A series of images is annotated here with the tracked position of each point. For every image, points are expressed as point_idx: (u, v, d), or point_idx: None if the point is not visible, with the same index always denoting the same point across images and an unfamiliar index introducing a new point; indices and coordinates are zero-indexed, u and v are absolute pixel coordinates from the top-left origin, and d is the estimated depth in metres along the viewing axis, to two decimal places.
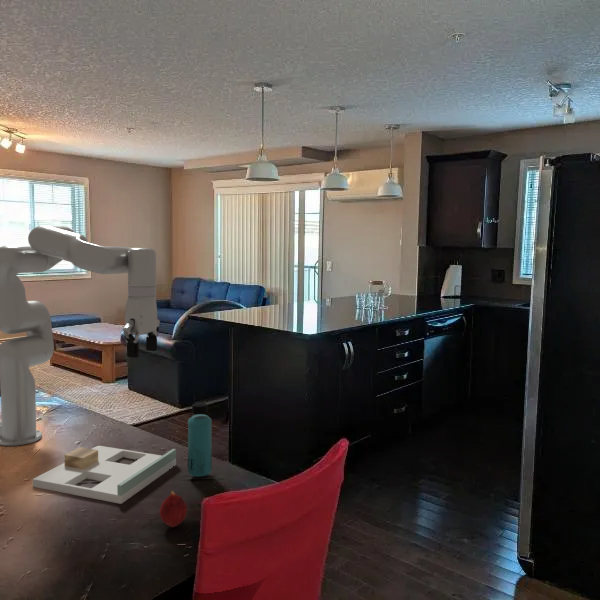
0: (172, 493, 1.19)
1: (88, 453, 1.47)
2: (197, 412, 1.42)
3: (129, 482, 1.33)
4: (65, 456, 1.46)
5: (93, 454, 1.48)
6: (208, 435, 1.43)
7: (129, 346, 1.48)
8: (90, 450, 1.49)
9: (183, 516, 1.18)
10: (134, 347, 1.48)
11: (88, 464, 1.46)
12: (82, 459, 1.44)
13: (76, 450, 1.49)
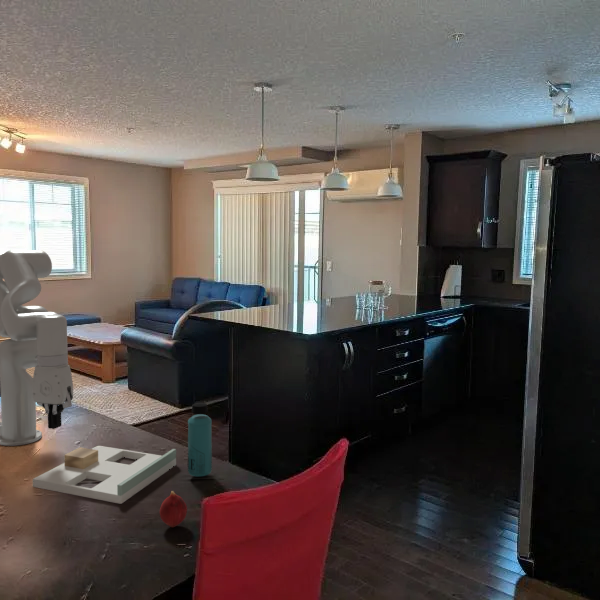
0: (172, 493, 1.19)
1: (88, 453, 1.47)
2: (197, 412, 1.42)
3: (129, 482, 1.33)
4: (65, 456, 1.46)
5: (93, 454, 1.48)
6: (208, 435, 1.43)
7: (58, 416, 1.48)
8: (90, 450, 1.49)
9: (183, 516, 1.18)
10: None
11: (88, 464, 1.46)
12: (82, 459, 1.44)
13: (76, 450, 1.49)
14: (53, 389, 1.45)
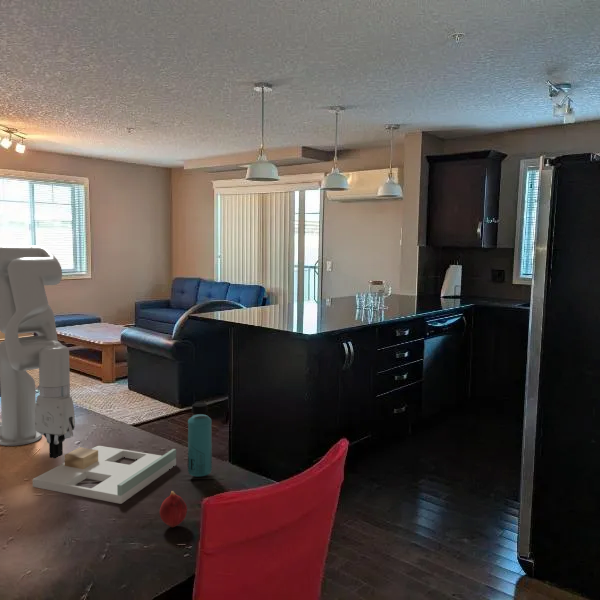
0: (172, 493, 1.19)
1: (88, 453, 1.47)
2: (197, 412, 1.42)
3: (129, 482, 1.33)
4: (65, 456, 1.46)
5: (93, 454, 1.48)
6: (208, 435, 1.43)
7: (59, 446, 1.49)
8: (90, 450, 1.49)
9: (183, 516, 1.18)
10: None
11: (88, 464, 1.46)
12: (82, 459, 1.44)
13: (76, 450, 1.49)
14: (55, 420, 1.46)
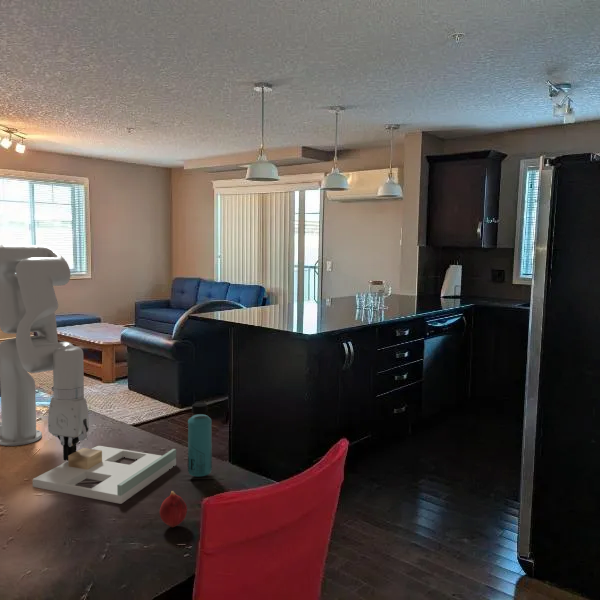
0: (172, 493, 1.19)
1: (92, 453, 1.47)
2: (197, 412, 1.42)
3: (129, 482, 1.33)
4: (69, 457, 1.45)
5: (96, 454, 1.47)
6: (208, 435, 1.43)
7: (73, 448, 1.48)
8: (94, 450, 1.49)
9: (183, 516, 1.18)
10: None
11: (92, 464, 1.46)
12: (86, 459, 1.44)
13: (80, 450, 1.49)
14: (69, 422, 1.45)
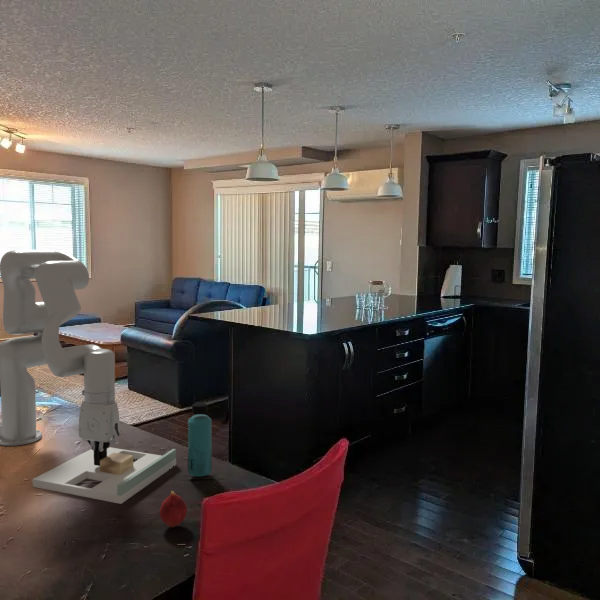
0: (172, 493, 1.19)
1: (124, 458, 1.44)
2: (197, 412, 1.42)
3: (129, 482, 1.33)
4: (101, 462, 1.43)
5: (128, 459, 1.45)
6: (208, 435, 1.43)
7: (104, 453, 1.45)
8: (125, 455, 1.46)
9: (183, 516, 1.18)
10: None
11: (124, 470, 1.43)
12: (119, 465, 1.41)
13: (111, 455, 1.46)
14: (100, 426, 1.42)
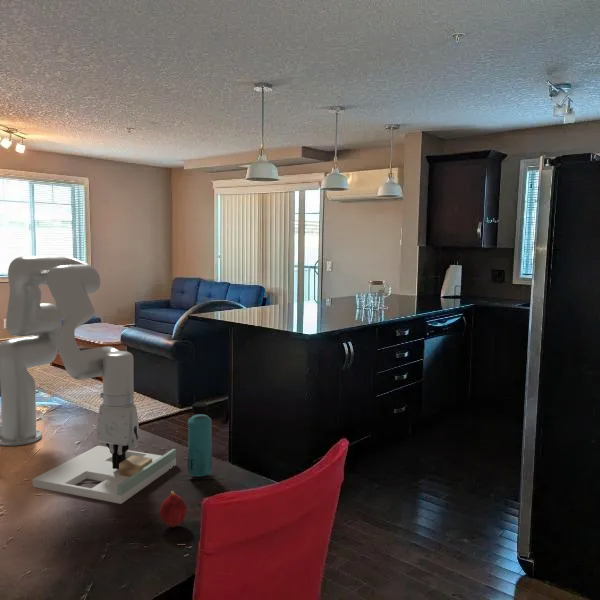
0: (172, 493, 1.19)
1: (143, 461, 1.43)
2: (197, 412, 1.42)
3: (129, 482, 1.33)
4: (120, 465, 1.41)
5: (147, 462, 1.43)
6: (208, 435, 1.43)
7: (122, 457, 1.43)
8: (144, 458, 1.45)
9: (183, 516, 1.18)
10: None
11: None
12: (138, 468, 1.39)
13: (130, 458, 1.44)
14: (120, 430, 1.40)
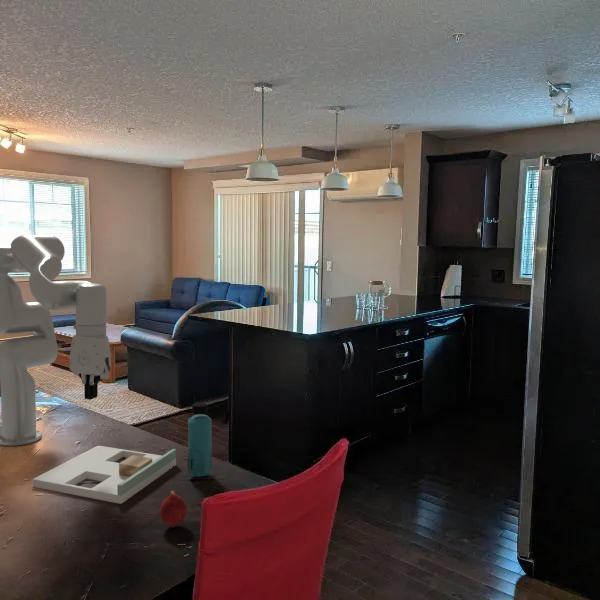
0: (172, 493, 1.19)
1: (143, 461, 1.43)
2: (197, 412, 1.42)
3: (129, 482, 1.33)
4: (120, 465, 1.41)
5: (147, 462, 1.43)
6: (208, 435, 1.43)
7: (94, 387, 1.46)
8: (144, 458, 1.45)
9: (183, 516, 1.18)
10: None
11: None
12: (138, 468, 1.39)
13: (130, 458, 1.44)
14: (91, 359, 1.42)
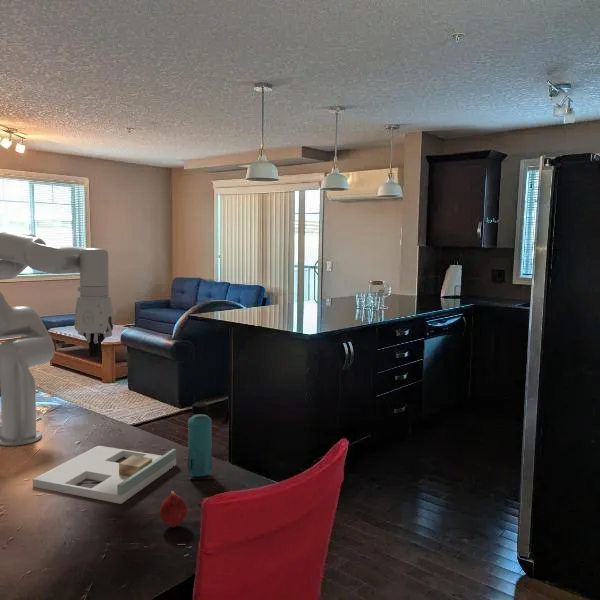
0: (172, 493, 1.19)
1: (143, 461, 1.43)
2: (197, 412, 1.42)
3: (129, 482, 1.33)
4: (120, 465, 1.41)
5: (147, 462, 1.43)
6: (208, 435, 1.43)
7: (98, 346, 1.55)
8: (144, 458, 1.45)
9: (183, 516, 1.18)
10: None
11: None
12: (138, 468, 1.39)
13: (130, 458, 1.44)
14: (95, 318, 1.52)
